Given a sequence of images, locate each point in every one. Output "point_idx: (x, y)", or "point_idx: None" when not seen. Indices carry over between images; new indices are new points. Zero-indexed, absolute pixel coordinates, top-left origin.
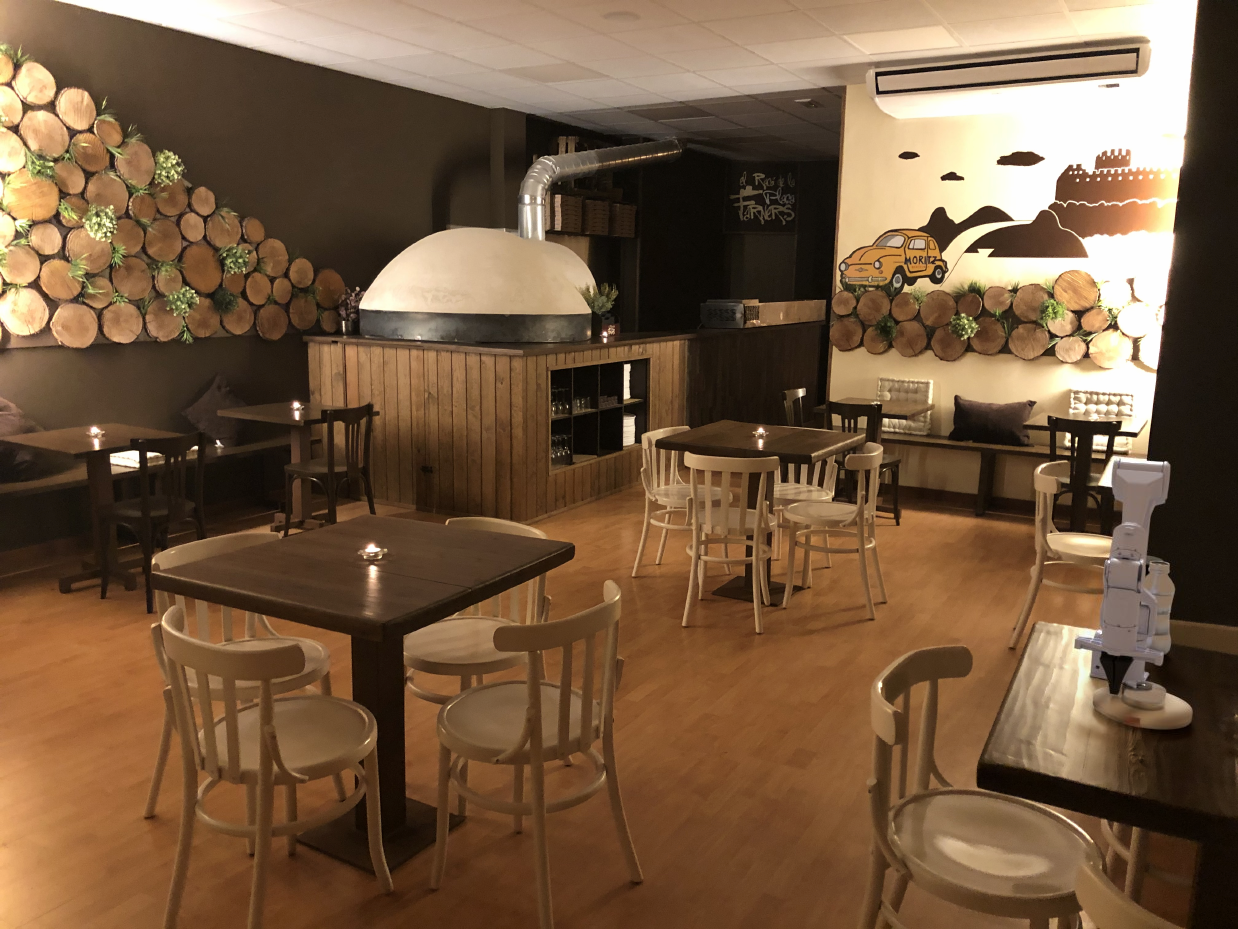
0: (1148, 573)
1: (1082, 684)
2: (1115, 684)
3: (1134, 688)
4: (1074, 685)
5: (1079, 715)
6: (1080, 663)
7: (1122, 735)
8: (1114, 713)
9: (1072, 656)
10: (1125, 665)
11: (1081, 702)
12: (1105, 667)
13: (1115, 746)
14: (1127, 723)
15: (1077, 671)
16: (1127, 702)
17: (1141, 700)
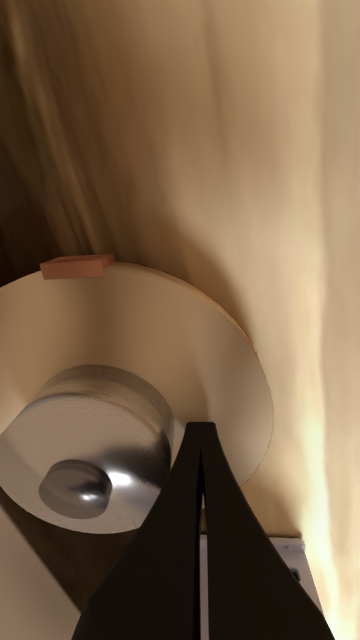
0: None
1: (312, 494)
2: (192, 458)
3: (103, 455)
4: (333, 481)
5: (288, 274)
6: (331, 580)
7: (101, 184)
8: (153, 277)
9: (352, 599)
10: (97, 628)
11: (298, 386)
12: (262, 560)
13: (71, 5)
14: (99, 255)
15: (334, 548)
16: (134, 384)
17: (66, 391)
